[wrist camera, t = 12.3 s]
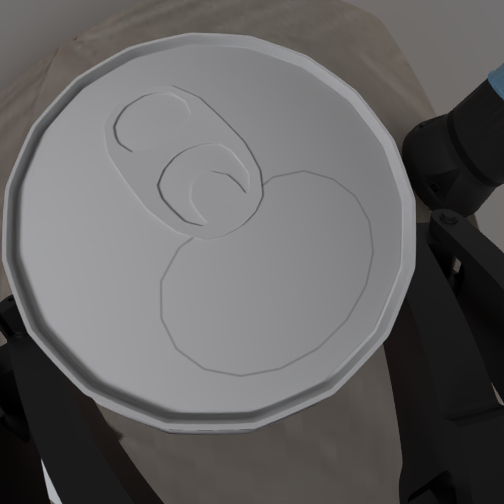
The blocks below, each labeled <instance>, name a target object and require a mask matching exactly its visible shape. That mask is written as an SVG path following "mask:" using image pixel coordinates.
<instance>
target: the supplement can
mask: <svg viewBox="0 0 504 504" xmlns="http://www.w3.org/2000/svg"><path fill="white" fill-rule="evenodd" d="M415 259H416V202H415V197H414V194H413V191H412V188H411V185H410V182H409V179H408V176H407V173H406V170H405V167H404V165H403V162H402V159H401V156H400V154H399V151H398V148H397V146H396V143H395V141H394V139H393V137H392V136H391V135H390V133H389V132H388V131H387V129H386V128H385V126H384V125H383V124H382V122H381V121H380V120H379V118H378V117H377V116H376V115H375V113H374V112H373V111H372V109H371V108H370V107H369V106H368V104H367V103H366V102H365V101H364V99H363V98H362V97H361V96H360V94H359V93H358V92H357V91H356V90H355V89H353V88H352V87H351V86H350V85H348V84H347V83H346V82H344V81H343V80H341V79H340V78H339V77H337V76H336V75H335V74H333V73H332V72H330V71H329V70H327V69H326V68H325V67H323V66H322V65H320V64H319V63H317V62H316V61H314V60H313V59H311V58H310V57H308V56H307V55H304V54H301V53H299V52H296V51H293V50H291V49H288V48H285V47H282V46H279V45H277V44H274V43H271V42H268V41H265V40H261V39H258V38H255V37H252V36H245V35H232V34H215V33H186V34H181V35H176V36H171V37H167V38H162V39H158V40H154V41H150V42H146V43H142V44H138V45H135V46H131V47H128V48H127V49H125V50H123V51H121V52H119V53H117V54H115V55H114V56H112V57H110V58H108V59H106V60H105V61H103V62H101V63H99V64H98V65H96V66H94V67H93V68H91V69H89V70H88V71H86V72H85V73H83V74H81V75H80V76H78V77H77V78H75V79H74V80H73V81H72V82H71V83H70V84H69V85H68V86H67V87H66V88H65V89H64V90H63V92H62V93H61V94H60V95H59V96H58V97H57V98H56V99H55V100H54V101H53V102H52V103H51V105H50V106H49V107H48V108H47V109H46V110H45V111H44V113H43V114H42V115H41V116H40V117H39V118H38V120H37V121H36V122H35V123H34V124H33V126H32V127H31V129H30V131H29V133H28V136H27V138H26V140H25V142H24V144H23V146H22V149H21V151H20V153H19V155H18V158H17V160H16V163H15V165H14V167H13V170H12V172H11V175H10V177H9V180H8V183H7V185H6V188H5V198H4V211H3V231H2V261H3V265H4V268H5V271H6V274H7V278H8V281H9V284H10V287H11V290H12V293H13V295H14V298H15V301H16V304H17V307H18V309H19V312H20V314H21V317H22V320H23V322H24V325H25V327H26V329H27V332H28V334H29V335H30V336H31V337H32V338H33V340H34V341H35V342H36V343H37V344H38V345H39V347H40V348H41V349H42V350H43V351H44V352H45V353H46V355H47V356H48V357H49V358H50V359H51V360H52V361H53V362H54V363H55V365H56V366H57V367H58V368H59V369H60V370H61V371H62V372H63V373H64V374H65V375H66V376H67V377H68V378H69V379H70V380H71V381H72V382H73V383H74V384H75V385H76V386H77V387H78V388H79V389H80V390H81V391H82V392H83V393H84V394H85V395H87V396H89V397H91V398H93V399H94V400H95V401H96V402H97V403H98V404H99V405H102V406H104V407H106V408H108V409H110V410H112V411H115V412H117V413H119V414H121V415H124V416H126V417H128V418H131V419H133V420H135V421H138V422H140V423H143V424H145V425H148V426H150V427H153V428H156V429H158V430H161V431H164V432H166V433H169V434H193V435H215V434H247V433H251V432H253V431H256V430H258V429H261V428H264V427H266V426H269V425H271V424H273V423H276V422H278V421H281V420H283V419H285V418H288V417H290V416H292V415H295V414H297V413H299V412H301V411H304V410H306V409H308V408H310V407H312V406H314V405H317V404H318V403H319V402H321V401H322V400H323V399H324V398H327V397H329V396H331V395H333V394H334V393H335V392H336V391H337V390H338V389H339V388H340V387H341V386H342V385H343V384H344V383H345V382H346V381H347V380H348V379H349V378H350V377H351V376H352V375H353V374H354V373H355V372H356V371H357V370H358V369H359V368H360V367H361V366H362V365H363V364H364V363H365V362H366V361H367V360H368V358H369V357H370V356H371V355H372V354H373V353H374V352H375V351H376V350H377V349H378V347H379V346H380V345H381V344H382V343H383V342H384V341H385V340H386V338H387V337H388V336H389V334H390V332H391V329H392V327H393V325H394V322H395V320H396V317H397V315H398V313H399V310H400V308H401V305H402V302H403V300H404V297H405V295H406V292H407V289H408V287H409V284H410V281H411V278H412V275H413V273H414V270H415Z"/></svg>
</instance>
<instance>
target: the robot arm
mask: <svg viewBox="0 0 504 504" xmlns="http://www.w3.org/2000/svg"><path fill="white" fill-rule="evenodd" d="M402 155H403V163H404V167H405V170H406V173H407V176H408V178H409V180H410V182H411V184H412V186H413V188H414V190H415V191H416V193H417V194H418V195H419V197H420V198H421V199H422V200H423V202H424V203H425V204H426V205H427V206H428V207H429V208H430V209H432V210H433V212H432V213H431V218H430V223H416V259H415V270H414V273H413V275H412V278H411V281H410V284H409V287H408V289H407V292H406V295H405V297H404V300H403V302H402V305H401V308H400V310H399V313H398V315H397V317H396V320H395V322H394V325H393V327H392V329H391V332H390V334H389V336H388V337H387V338H386V340H385V341H384V342H383V345H384V350H385V355H386V359H387V364H388V369H389V374H390V380H391V385H392V391H393V396H394V402H395V408H396V414H397V421H398V428H399V435H400V442H401V450H402V459H403V464H402V470H401V474H400V479H399V498H400V504H504V405H501V404H500V403H499V402H498V400H497V398H496V395H495V392H494V389H493V386H494V387H495V389H496V391H497V392H498V394H499V396H500V397H501V399H502V401H503V403H504V253H503V252H502V251H501V250H500V249H499V248H498V247H497V246H496V245H494V244H493V243H492V242H491V241H490V240H489V239H488V238H487V237H486V236H484V235H483V234H482V233H481V232H480V231H479V230H478V229H477V228H475V227H474V226H473V225H472V224H471V223H470V222H468V221H467V220H466V219H465V217H467V216H469V215H471V214H473V213H475V212H476V211H477V210H478V209H479V208H480V206H481V205H482V204H483V203H484V202H485V200H486V199H487V198H488V197H489V196H490V194H491V193H492V192H493V191H494V190H495V188H496V187H498V186H500V185H501V184H504V64H502V65H501V66H500V67H499V68H497V69H496V70H494V71H492V72H490V73H489V75H488V78H487V79H486V80H485V81H484V82H483V83H482V84H480V85H479V86H478V87H477V88H476V89H475V90H474V91H473V92H472V93H471V94H469V95H468V96H467V97H466V98H465V99H464V100H463V101H462V102H460V103H459V104H458V105H457V106H456V107H455V108H454V109H453V110H452V111H450V112H449V113H448V114H444V115H441V116H438V117H435V118H432V119H429V120H427V121H424V122H421V123H419V124H418V125H417V126H415V127H414V128H413V129H412V130H411V131H410V132H409V133H408V134H407V136H406V137H405V140H404V143H403V149H402ZM456 258H457V259H458V260H459V261H460V262H461V266H460V270H459V272H458V273H457V272H456V271H455V270H454V269H453V268H454V265H455V261H456ZM0 331H1V332H2V334H3V335H4V336H5V338H6V339H7V343H6V344H4V345H3V346H1V347H0V504H51V503H50V499H49V495H48V491H47V486H46V481H45V477H44V471H43V466H42V462H43V464H44V466H45V469H46V471H47V473H48V476H49V478H50V480H51V482H52V484H53V486H54V489H55V491H56V493H57V495H58V497H59V499H60V501H61V503H62V504H164V503H163V502H162V500H161V499H160V498H159V497H158V495H157V494H156V493H155V492H154V490H153V489H152V488H151V487H150V485H149V484H148V483H147V481H146V480H145V479H144V477H143V476H142V475H141V473H140V472H139V471H138V469H137V468H136V466H135V465H134V464H133V462H132V461H131V459H130V458H129V456H128V455H127V453H126V452H125V450H124V449H123V447H122V446H121V444H120V443H119V441H118V440H117V438H116V437H115V435H114V434H113V432H112V430H111V429H110V427H109V425H108V424H107V422H106V421H105V419H104V417H103V415H102V414H101V412H100V410H99V409H98V407H97V405H96V403H95V402H94V400H93V398H91V397H89V396H87V395H85V394H84V393H83V392H82V391H81V390H80V389H79V388H78V387H77V386H76V385H75V384H74V383H73V382H72V381H71V380H70V379H69V378H68V377H67V376H66V375H65V374H64V373H63V372H62V371H61V370H60V369H59V368H58V367H57V366H56V365H55V363H54V362H53V361H52V360H51V359H50V358H49V357H48V356H47V355H46V353H45V352H44V351H43V350H42V349H41V348H40V347H39V345H38V344H37V343H36V342H35V341H34V340H33V338H32V337H31V336H30V335H29V334H28V332H27V329H26V327H25V325H24V322H23V320H22V317H21V314H20V312H19V309H18V307H17V304H16V301H15V298H14V295H13V294H12V295H10V296H8V297H7V298H5V299H4V300H3V301H1V302H0ZM491 382H492V383H491ZM492 384H493V386H492ZM41 459H42V460H41Z"/></svg>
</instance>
